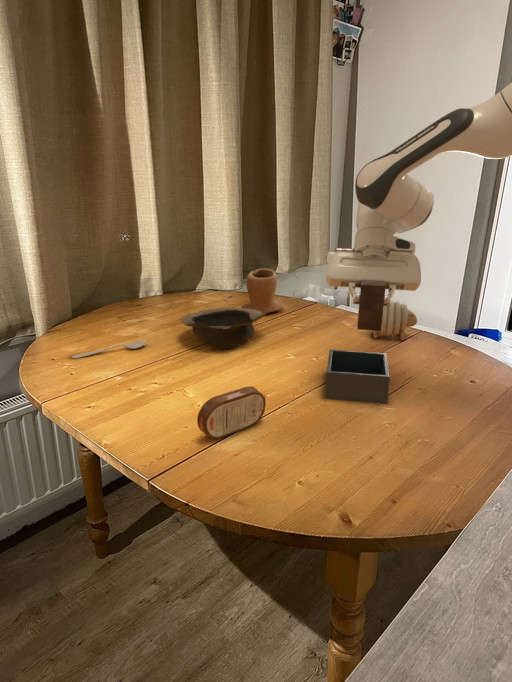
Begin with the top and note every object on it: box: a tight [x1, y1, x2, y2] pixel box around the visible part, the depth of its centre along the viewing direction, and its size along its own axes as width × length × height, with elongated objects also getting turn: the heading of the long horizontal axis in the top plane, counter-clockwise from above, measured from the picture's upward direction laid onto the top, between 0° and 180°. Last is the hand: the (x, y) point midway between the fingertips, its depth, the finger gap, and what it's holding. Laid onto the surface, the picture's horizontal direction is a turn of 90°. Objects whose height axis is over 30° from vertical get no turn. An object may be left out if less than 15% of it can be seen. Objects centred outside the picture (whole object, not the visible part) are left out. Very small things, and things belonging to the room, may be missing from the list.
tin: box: [196, 385, 267, 439], centre depth 99 cm, size 15×3×8 cm, turn 126°
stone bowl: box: [180, 307, 268, 350], centre depth 147 cm, size 25×25×9 cm
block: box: [356, 280, 386, 332], centre depth 108 cm, size 5×5×10 cm
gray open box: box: [324, 349, 390, 405], centre depth 117 cm, size 14×14×7 cm
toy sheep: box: [372, 299, 418, 341], centre depth 148 cm, size 11×17×11 cm, turn 84°
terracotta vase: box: [240, 267, 285, 314], centre depth 169 cm, size 15×12×15 cm
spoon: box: [71, 340, 148, 359], centre depth 138 cm, size 4×21×2 cm, turn 114°
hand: (371, 303), depth 107 cm, fingers closed on block, 5 cm apart
